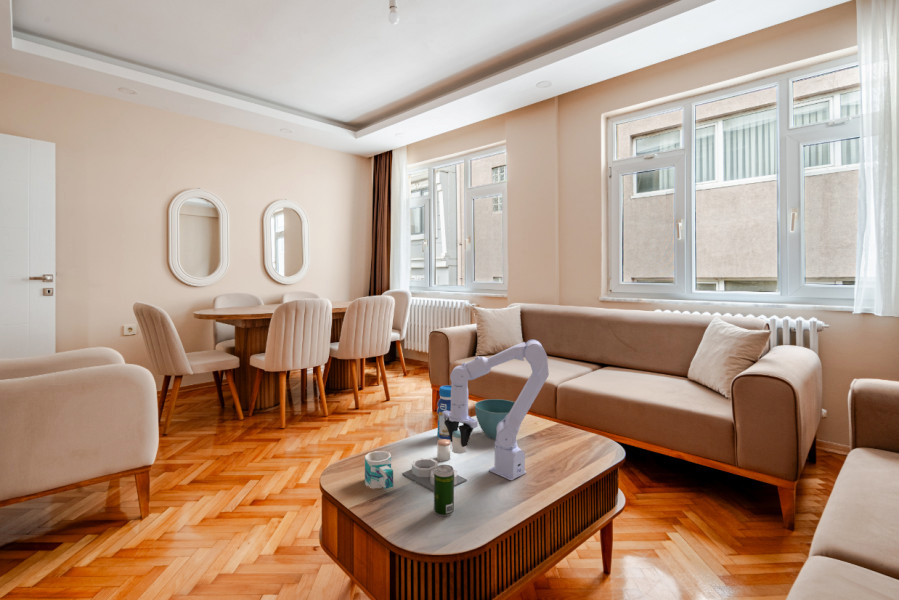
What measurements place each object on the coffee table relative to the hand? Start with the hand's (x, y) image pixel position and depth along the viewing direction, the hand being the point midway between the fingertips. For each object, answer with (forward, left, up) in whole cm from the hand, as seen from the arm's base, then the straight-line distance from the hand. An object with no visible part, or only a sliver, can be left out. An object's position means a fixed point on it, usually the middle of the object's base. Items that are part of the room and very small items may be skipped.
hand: (459, 443), depth 142 cm
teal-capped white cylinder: (0, 0, -2) cm, 2 cm away
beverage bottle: (+22, -16, -9) cm, 29 cm away
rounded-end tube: (+9, -2, -8) cm, 13 cm away
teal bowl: (+10, -32, -9) cm, 34 cm away
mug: (+8, +25, -9) cm, 28 cm away
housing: (+1, +10, -8) cm, 13 cm away
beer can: (-16, +21, -9) cm, 28 cm away
